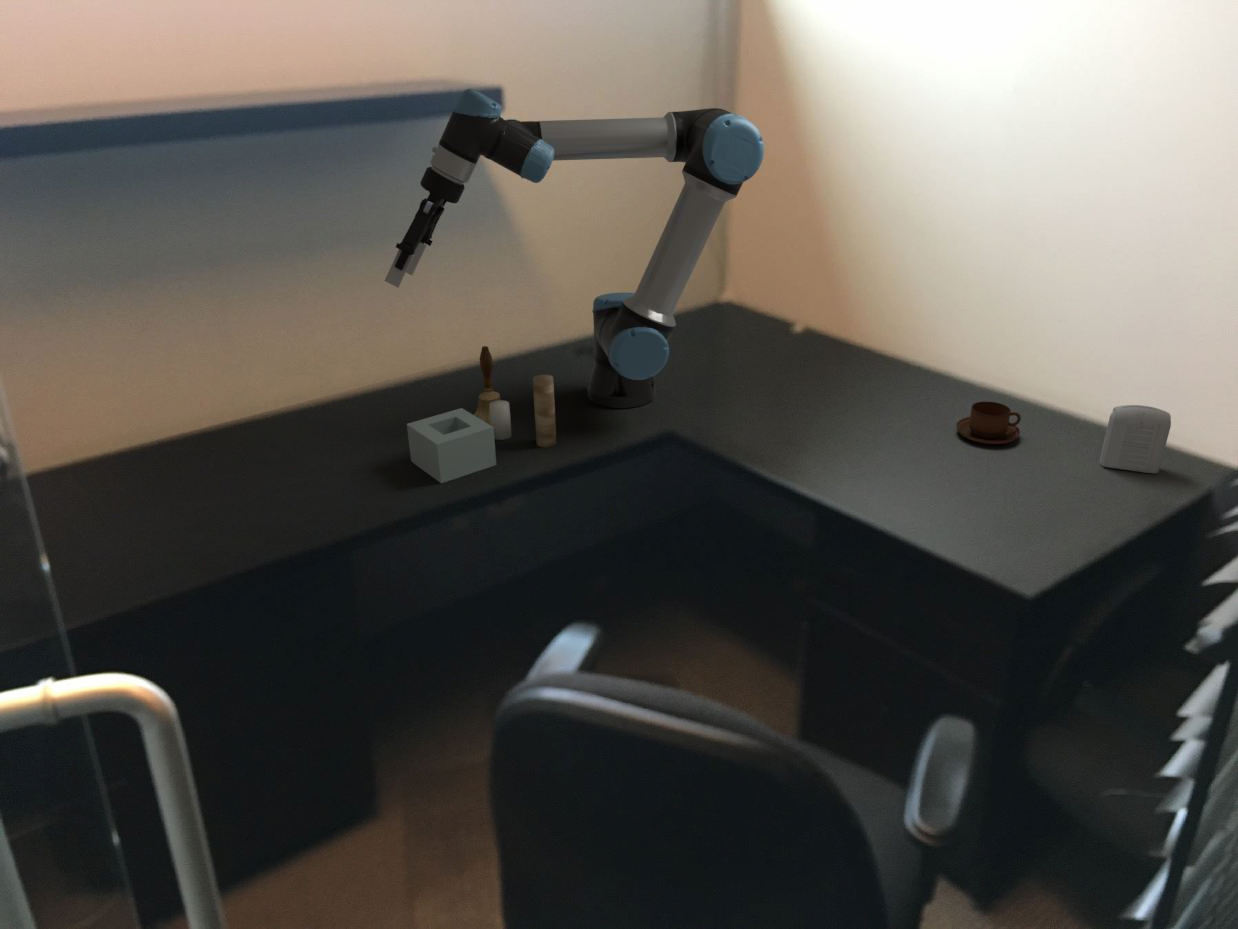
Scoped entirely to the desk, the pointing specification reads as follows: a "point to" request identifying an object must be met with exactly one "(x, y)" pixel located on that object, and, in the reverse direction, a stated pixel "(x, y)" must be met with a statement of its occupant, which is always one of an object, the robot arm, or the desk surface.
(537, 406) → the long pin
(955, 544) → the desk surface
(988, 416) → the cup and saucer
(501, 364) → the desk surface
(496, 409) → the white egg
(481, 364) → the hand bell
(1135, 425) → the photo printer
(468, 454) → the hole block
